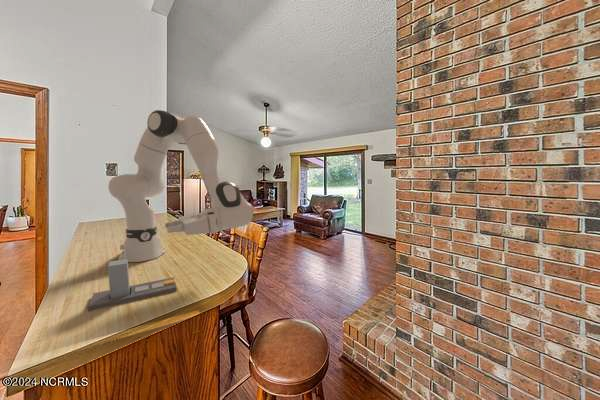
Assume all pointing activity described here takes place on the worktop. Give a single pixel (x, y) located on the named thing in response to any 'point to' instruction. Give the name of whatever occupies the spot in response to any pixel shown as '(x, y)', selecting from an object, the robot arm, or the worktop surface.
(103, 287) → the worktop surface
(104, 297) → the power strip
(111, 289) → the grey rectangular block
